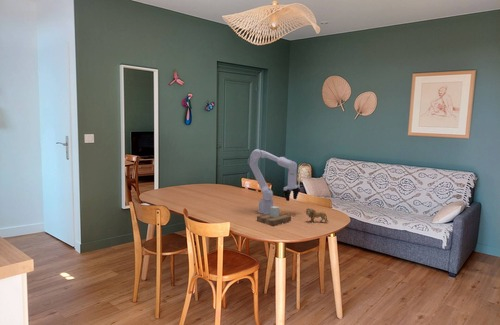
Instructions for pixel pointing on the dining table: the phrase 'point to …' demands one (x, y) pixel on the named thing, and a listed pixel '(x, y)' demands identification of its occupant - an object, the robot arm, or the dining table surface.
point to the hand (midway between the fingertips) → (291, 199)
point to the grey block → (274, 211)
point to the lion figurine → (316, 215)
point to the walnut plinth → (273, 219)
